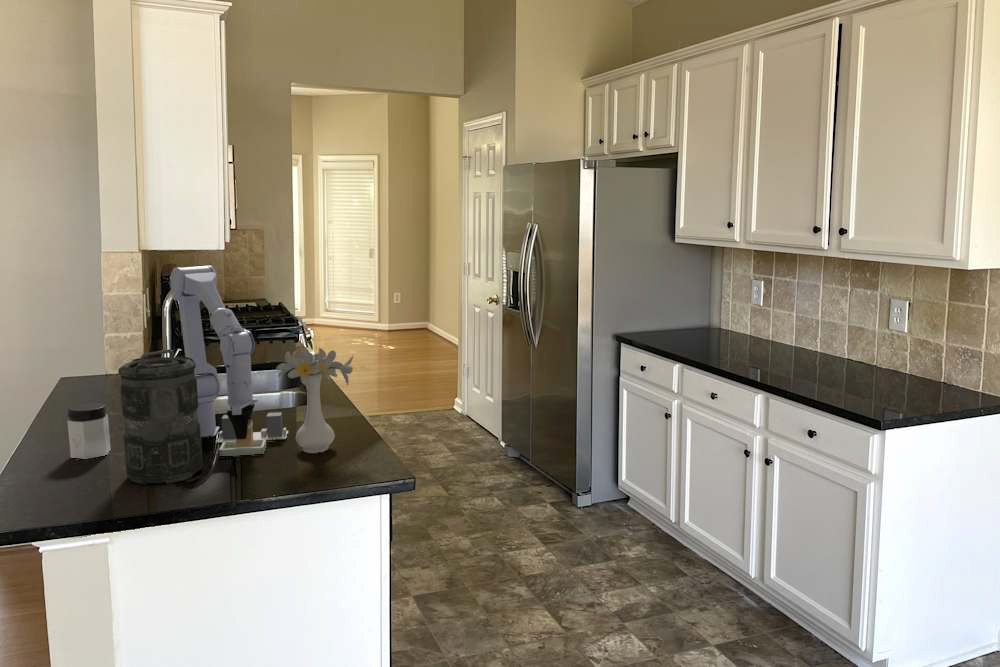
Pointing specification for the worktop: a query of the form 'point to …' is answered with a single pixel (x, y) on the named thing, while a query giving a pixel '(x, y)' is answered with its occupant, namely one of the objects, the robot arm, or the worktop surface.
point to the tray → (242, 448)
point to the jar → (88, 430)
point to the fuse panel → (270, 433)
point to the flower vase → (314, 394)
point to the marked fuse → (249, 436)
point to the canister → (160, 418)
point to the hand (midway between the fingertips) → (242, 436)
